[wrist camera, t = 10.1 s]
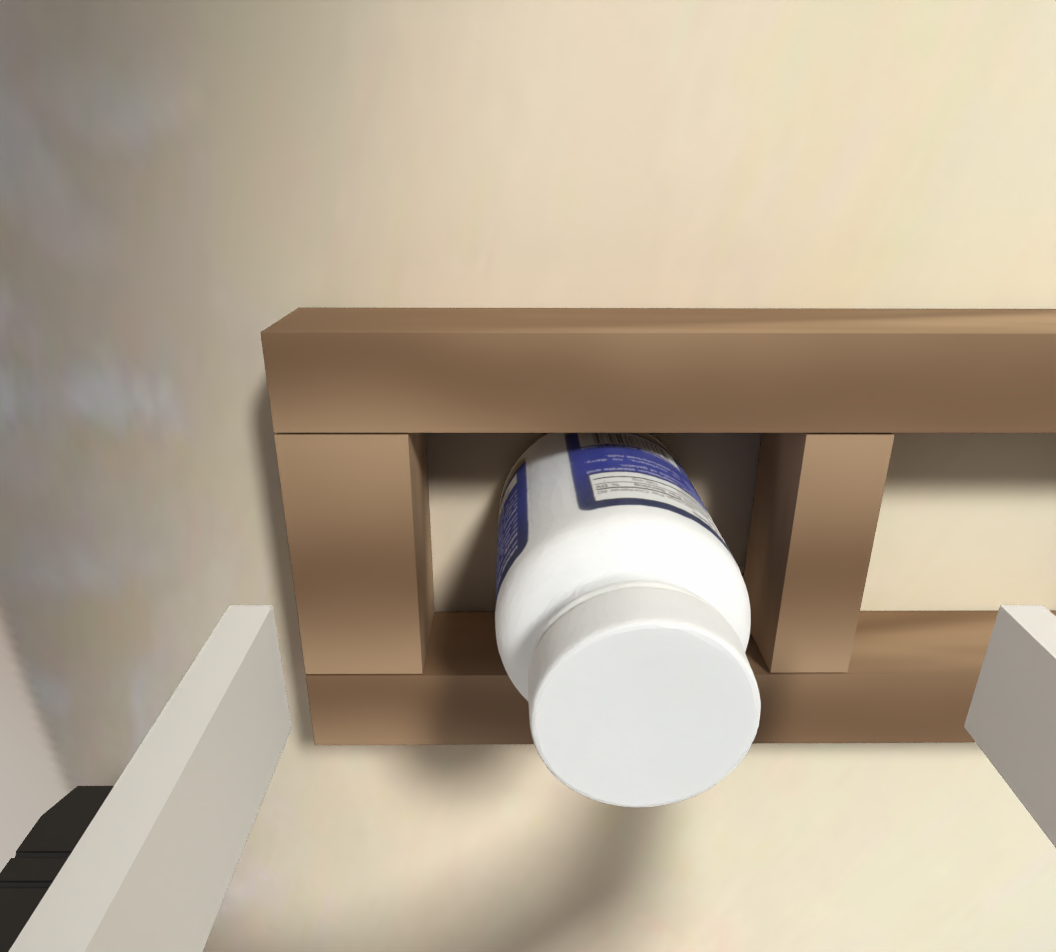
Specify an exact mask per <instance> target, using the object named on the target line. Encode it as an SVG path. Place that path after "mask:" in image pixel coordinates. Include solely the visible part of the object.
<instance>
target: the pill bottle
mask: <svg viewBox="0 0 1056 952" xmlns="http://www.w3.org/2000/svg"><path fill="white" fill-rule="evenodd" d="M750 626H751V609H750V602H749V597H748V592H747V589H746V585H745V582H744V580H743V577H742V575H741V572H740V569H739V567H738V565H737V563H736V561H735V559H734V557H733V555H732V554H731V552H730V550H729V548H728V547H727V545H726V543H725V541H724V539H723V538H722V536H721V534H720V532H719V531H718V529H717V527H716V526H715V524H714V522H713V520H712V518H711V516H710V515H709V513H708V511H707V509H706V508H705V506H704V504H703V503H702V501H701V499H700V497H699V496H698V494H697V492H696V491H695V489H694V487H693V485H692V484H691V482H690V480H689V478H688V477H687V475H686V473H685V471H684V470H683V468H682V467H681V465H680V464H679V462H678V461H677V459H676V458H675V457H674V455H673V454H672V453H671V451H670V450H669V449H668V448H667V447H666V446H665V445H663V444H662V443H661V442H660V441H659V440H657V439H656V438H654V437H653V436H651V435H649V434H648V433H549V434H547V435H545V436H543V437H542V438H540V439H539V440H537V441H536V442H535V443H534V444H532V445H531V446H530V447H529V448H528V449H527V450H526V451H525V452H524V453H523V454H522V455H521V456H520V457H519V459H518V460H517V461H516V463H515V464H514V466H513V467H512V469H511V471H510V473H509V475H508V477H507V479H506V481H505V484H504V487H503V490H502V494H501V499H500V507H499V522H498V545H497V566H496V595H495V629H496V640H497V646H498V651H499V654H500V657H501V660H502V662H503V665H504V668H505V670H506V672H507V674H508V676H509V678H510V679H511V681H512V683H513V684H514V686H515V687H516V688H517V690H518V691H519V692H520V693H521V695H522V696H523V697H524V698H525V699H526V700H527V701H528V703H529V719H530V728H531V734H532V738H533V742H534V744H535V747H536V749H537V752H538V754H539V755H540V757H541V759H542V761H543V762H544V763H545V765H546V766H547V768H548V769H549V770H550V772H551V773H552V774H553V775H554V776H555V777H556V778H557V779H559V780H560V781H561V782H562V783H564V784H565V785H566V786H568V787H569V788H571V789H572V790H574V791H576V792H578V793H579V794H581V795H583V796H585V797H588V798H590V799H593V800H596V801H599V802H602V803H605V804H611V805H616V806H623V807H655V806H662V805H666V804H671V803H676V802H679V801H682V800H685V799H688V798H691V797H693V796H696V795H698V794H700V793H702V792H704V791H706V790H708V789H710V788H711V787H713V786H714V785H715V784H717V783H718V782H719V781H721V780H722V779H724V778H725V777H726V776H727V775H728V774H729V773H730V772H731V771H732V770H734V769H735V768H736V767H737V766H738V764H739V763H740V762H741V760H742V759H743V758H744V756H745V755H746V753H747V752H748V750H749V749H750V746H751V744H752V742H753V740H754V738H755V736H756V733H757V729H758V727H759V720H760V711H761V701H760V694H759V689H758V685H757V682H756V679H755V676H754V674H753V671H752V669H751V666H750V664H749V662H748V659H747V657H746V654H745V651H746V648H747V645H748V641H749V636H750Z"/></svg>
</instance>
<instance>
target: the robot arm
mask: <svg viewBox="0 0 1056 952" xmlns="http://www.w3.org/2000/svg"><path fill="white" fill-rule="evenodd" d="M964 727H965V729H966V730H967V731H968V733H969V734H970V735H971V737H972V738H973V739H974V741H975V742H976V743H977V745H978V746H979V747H980V749H981V750H982V751H983V752H984V754H985V755H986V756H987V758H988V759H989V760H990V762H991V763H992V764H993V766H994V767H995V768H996V770H997V771H998V772H999V774H1000V775H1001V776H1002V778H1003V779H1004V780H1005V782H1006V783H1007V784H1008V785H1009V787H1010V788H1011V789H1012V791H1013V792H1014V793H1015V795H1016V796H1017V797H1018V799H1019V800H1020V801H1021V803H1022V804H1023V805H1024V807H1025V808H1026V809H1027V811H1028V812H1029V813H1030V815H1031V816H1032V817H1033V818H1034V820H1035V821H1036V822H1037V824H1038V825H1039V826H1040V828H1041V829H1042V830H1043V832H1044V833H1045V834H1046V836H1047V837H1048V838H1049V840H1050V841H1051V842H1052V844H1053V845H1054V846H1055V848H1056V616H1055V615H1054V614H1052V613H1051V612H1050V611H1049V610H1048V609H1047V608H1046V607H1045V606H1043V605H1000V608H999V611H998V615H997V618H996V621H995V625H994V628H993V631H992V635H991V638H990V641H989V645H988V648H987V651H986V655H985V658H984V661H983V665H982V668H981V671H980V675H979V678H978V681H977V685H976V688H975V691H974V695H973V698H972V701H971V705H970V708H969V711H968V715H967V718H966V721H965V725H964ZM291 728H292V726H291V719H290V713H289V706H288V700H287V694H286V687H285V681H284V674H283V668H282V661H281V655H280V649H279V642H278V636H277V629H276V623H275V616H274V610H273V605H229V607H228V608H227V610H226V611H225V613H224V614H223V616H222V618H221V619H220V621H219V622H218V624H217V625H216V627H215V629H214V630H213V632H212V633H211V635H210V636H209V638H208V640H207V641H206V643H205V644H204V646H203V647H202V649H201V651H200V652H199V654H198V655H197V657H196V658H195V660H194V661H193V663H192V665H191V666H190V668H189V669H188V671H187V672H186V674H185V676H184V677H183V679H182V680H181V682H180V683H179V685H178V687H177V688H176V690H175V691H174V693H173V694H172V696H171V698H170V699H169V701H168V702H167V704H166V705H165V707H164V709H163V710H162V712H161V713H160V715H159V716H158V718H157V720H156V721H155V723H154V724H153V726H152V727H151V729H150V730H149V732H148V734H147V735H146V737H145V738H144V740H143V741H142V743H141V745H140V746H139V748H138V749H137V751H136V752H135V754H134V756H133V757H132V759H131V760H130V762H129V763H128V765H127V767H126V768H125V770H124V771H123V773H122V774H121V776H120V778H119V779H118V781H117V782H116V784H115V785H114V786H77V787H76V788H75V789H73V790H72V791H71V792H70V793H69V794H67V795H66V796H65V797H64V798H63V799H61V800H60V801H59V802H58V803H57V804H55V805H54V806H53V807H52V808H50V809H49V810H48V811H47V812H46V813H45V814H43V815H42V816H41V817H40V819H39V820H38V822H37V823H36V824H35V826H34V827H33V828H32V830H31V831H30V833H29V834H28V835H27V837H26V838H25V840H24V841H23V843H22V844H21V845H20V847H19V848H18V849H17V851H16V856H15V858H11V859H10V861H9V862H8V863H7V865H6V866H5V868H4V869H3V870H2V872H1V873H0V952H203V950H204V947H205V945H206V942H207V940H208V937H209V934H210V932H211V929H212V927H213V924H214V922H215V919H216V917H217V914H218V912H219V909H220V907H221V904H222V902H223V899H224V897H225V894H226V892H227V889H228V887H229V884H230V882H231V879H232V877H233V874H234V872H235V869H236V866H237V864H238V861H239V859H240V856H241V854H242V851H243V849H244V846H245V844H246V841H247V839H248V836H249V834H250V831H251V829H252V826H253V824H254V821H255V819H256V816H257V814H258V811H259V809H260V806H261V804H262V801H263V799H264V796H265V793H266V791H267V788H268V786H269V783H270V781H271V778H272V776H273V773H274V771H275V768H276V766H277V763H278V761H279V758H280V756H281V753H282V751H283V748H284V746H285V743H286V741H287V738H288V736H289V733H290V731H291Z"/></svg>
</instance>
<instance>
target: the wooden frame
mask: <svg viewBox="0 0 1056 952" xmlns="http://www.w3.org/2000/svg"><path fill="white" fill-rule="evenodd" d="M261 339H262V347H263V354H264V362H265V370H266V377H267V385H268V392H269V400H270V408H271V415H272V423H273V430H274V433H276V434H275V435H274V438H275V446H276V453H277V461H278V468H279V476H280V484H281V491H282V499H283V506H284V514H285V522H286V529H287V537H288V544H289V552H290V560H291V567H292V575H293V582H294V590H295V598H296V605H297V613H298V620H299V628H300V635H301V643H302V651H303V658H304V666H305V673H306V681H307V689H308V696H309V704H310V711H311V719H312V727H313V734H314V742H315V745H428V744H534V742H533V738H532V734H531V728H530V719H529V703H528V701H527V700H526V699H525V698H524V697H523V696H522V695H521V693H520V692H519V691H518V690H517V688H516V687H515V686H514V684H513V683H512V681H511V679H510V678H509V676H508V674H507V672H506V670H505V668H504V665H503V662H502V660H501V657H500V654H499V651H498V646H497V640H496V629H495V612H434V610H435V609H434V590H433V570H432V550H431V531H430V511H429V491H428V472H427V452H426V433H762V438H761V445H760V453H759V461H758V469H757V477H756V484H755V492H754V500H753V508H752V516H751V523H750V531H749V539H748V547H747V555H746V562H745V570H744V578H743V580H744V582H745V585H746V589H747V592H748V597H749V602H750V609H751V626H750V636H749V641H748V645H747V648H746V651H745V654H746V657H747V659H748V662H749V664H750V666H751V669H752V671H753V674H754V676H755V679H756V682H757V685H758V689H759V694H760V701H761V711H760V720H759V727H758V729H757V733H756V736H755V738H754V740H753V742H752V743H923V742H975V741H974V739H973V738H972V737H971V735H970V734H969V733H968V731H967V730H966V729H965V727H964V725H965V721H966V718H967V715H968V711H969V708H970V705H971V701H972V698H973V695H974V691H975V688H976V685H977V681H978V678H979V675H980V671H981V668H982V665H983V661H984V658H985V655H986V651H987V648H988V645H989V641H990V638H991V635H992V631H993V628H994V625H995V621H996V618H997V615H998V611H860V607H861V602H862V597H863V592H864V587H865V582H866V577H867V572H868V567H869V562H870V557H871V552H872V547H873V542H874V537H875V532H876V527H877V522H878V516H879V511H880V506H881V501H882V496H883V491H884V486H885V481H886V476H887V471H888V466H889V461H890V456H891V451H892V446H893V441H894V436H895V435H894V434H892V433H1056V309H689V308H298V309H296V310H295V311H293V312H291V313H290V314H288V315H287V316H285V317H284V318H282V319H281V320H279V321H278V322H276V323H274V324H273V325H271V326H270V327H268V328H267V329H265V330H264V331H262V332H261ZM1050 612H1051V613H1052V614H1054V615H1055V616H1056V611H1050Z"/></svg>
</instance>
